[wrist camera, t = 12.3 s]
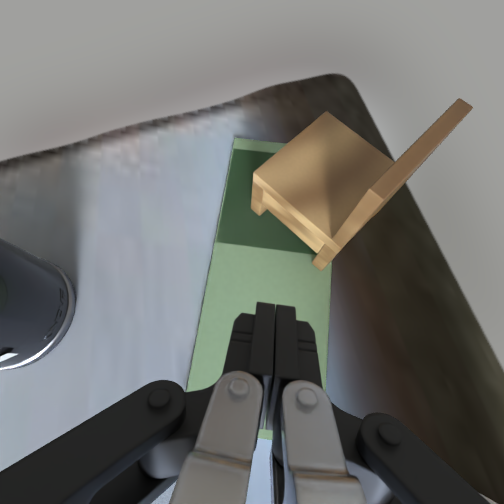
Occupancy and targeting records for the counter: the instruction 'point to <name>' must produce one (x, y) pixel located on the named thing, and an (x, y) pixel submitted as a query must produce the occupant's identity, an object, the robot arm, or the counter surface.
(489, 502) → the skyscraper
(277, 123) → the counter surface
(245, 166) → the mat
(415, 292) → the counter surface
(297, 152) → the chair
